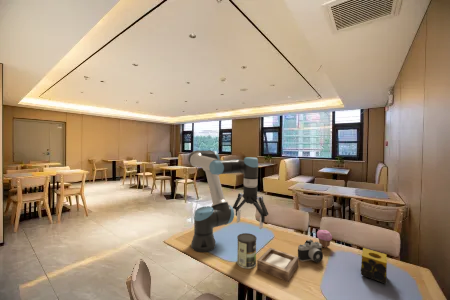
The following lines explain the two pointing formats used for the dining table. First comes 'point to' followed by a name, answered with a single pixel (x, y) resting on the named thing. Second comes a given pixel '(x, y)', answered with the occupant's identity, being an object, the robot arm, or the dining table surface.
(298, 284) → the dining table surface
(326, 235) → the cupcake
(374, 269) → the tissue box
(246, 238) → the coffee can
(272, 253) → the wooden box
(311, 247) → the camera
